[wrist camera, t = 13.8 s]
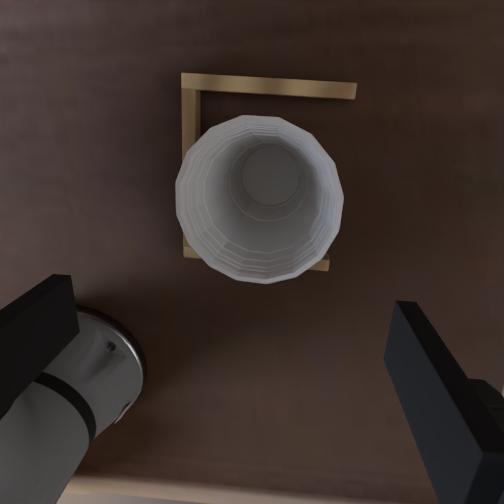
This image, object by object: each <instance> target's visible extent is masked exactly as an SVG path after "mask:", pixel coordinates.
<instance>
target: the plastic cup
mask: <svg viewBox="0 0 504 504" xmlns="http://www.w3.org/2000/svg"><path fill="white" fill-rule="evenodd" d="M175 187H176V215H177V217H178V220H179V222H180V225H181V227H182V230H183V232H184V234H185V237H186V239H187V242H188V244H189V245H190V246H191V247H192V248H193V249H194V250H195V251H196V252H197V253H198V254H199V256H200V257H201V258H202V259H203V260H204V261H205V262H206V263H207V264H208V265H209V266H210V267H212V268H214V269H216V270H218V271H220V272H222V273H223V274H225V275H227V276H229V277H231V278H233V279H235V280H239V281H247V282H254V283H262V284H269V283H273V282H277V281H282V280H286V279H290V278H294V277H297V276H298V275H300V274H301V273H303V272H304V271H305V270H307V269H308V268H310V267H311V266H312V265H314V264H315V263H317V262H318V261H319V260H321V259H322V258H323V256H324V255H325V253H326V251H327V250H328V248H329V246H330V245H331V243H332V242H333V240H334V238H335V237H336V235H337V234H338V232H339V228H340V221H341V214H342V207H343V201H344V196H343V192H342V188H341V184H340V181H339V177H338V173H337V170H336V166H335V163H334V161H333V160H332V159H331V158H330V156H329V155H328V154H327V153H326V151H325V150H324V149H323V148H322V146H321V145H320V144H319V143H318V141H317V140H316V139H315V138H314V137H313V135H312V134H310V133H308V132H307V131H305V130H303V129H301V128H299V127H297V126H295V125H293V124H291V123H289V122H287V121H285V120H283V119H281V118H280V117H267V116H250V115H242V116H239V117H237V118H234V119H232V120H229V121H226V122H224V123H221V124H219V125H216V126H214V127H211V128H210V129H209V130H208V131H207V132H206V133H205V134H204V135H203V136H202V137H201V138H200V139H199V140H198V141H197V142H196V143H195V144H194V145H193V146H192V147H191V148H190V149H189V150H188V151H187V153H186V156H185V158H184V161H183V163H182V166H181V169H180V171H179V174H178V177H177V179H176V182H175Z"/></svg>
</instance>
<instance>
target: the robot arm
mask: <svg viewBox="0 0 504 504" xmlns="http://www.w3.org/2000/svg"><path fill="white" fill-rule="evenodd" d="M384 361H385V364H386V366H387V369H388V372H389V374H390V377H391V379H392V382H393V385H394V387H395V390H396V392H397V395H398V397H399V400H400V403H401V405H402V408H403V410H404V413H405V416H406V418H407V421H408V423H409V426H410V428H411V431H412V434H413V436H414V439H415V441H416V444H417V447H418V449H419V452H420V454H421V457H422V459H423V462H424V465H425V467H426V470H427V472H428V475H429V478H430V480H431V483H432V485H433V488H434V491H435V493H436V496H437V498H438V501H439V503H440V504H504V397H503V396H502V395H501V393H500V392H498V391H497V390H496V389H495V388H493V387H492V386H491V385H490V384H488V383H487V382H486V381H484V380H479V379H468V378H467V376H466V375H465V373H464V372H463V370H462V369H461V367H460V366H459V364H458V363H457V361H456V360H455V358H454V357H453V356H452V354H451V353H450V351H449V350H448V348H447V347H446V345H445V344H444V342H443V341H442V339H441V338H440V336H439V335H438V333H437V332H436V330H435V329H434V327H433V326H432V324H431V323H430V322H429V320H428V319H427V317H426V316H425V314H424V313H423V311H422V310H421V308H420V307H419V305H418V304H417V302H410V301H397V300H396V302H395V307H394V312H393V316H392V321H391V326H390V331H389V336H388V340H387V345H386V350H385V355H384ZM146 374H147V368H146V362H145V358H144V355H143V352H142V350H141V348H140V346H139V345H138V343H137V342H136V340H135V339H134V337H133V336H132V335H131V334H130V333H129V332H128V331H127V330H126V329H125V328H124V327H123V326H122V325H121V324H119V323H118V322H116V321H115V320H113V319H112V318H110V317H108V316H106V315H104V314H102V313H100V312H98V311H95V310H91V309H88V308H83V307H76V304H75V298H74V292H73V286H72V280H71V275H58V274H53V275H51V276H50V277H48V278H47V279H45V280H44V281H42V282H41V283H39V284H38V285H36V286H35V287H33V288H32V289H31V290H29V291H28V292H26V293H25V294H23V295H22V296H20V297H19V298H17V299H16V300H14V301H13V302H12V303H10V304H9V305H7V306H6V307H4V308H3V309H1V310H0V504H56V503H57V501H58V499H59V498H60V496H61V494H62V493H63V491H64V489H65V487H66V486H67V484H68V482H69V481H70V479H71V477H72V476H73V474H74V472H75V470H76V469H77V467H78V465H79V464H80V462H81V460H82V459H83V457H84V455H85V453H86V452H87V450H88V448H89V447H90V445H91V444H92V442H93V440H94V439H95V437H97V436H98V435H99V434H100V433H101V432H102V431H103V430H105V429H106V428H107V427H108V426H109V425H110V424H111V423H112V422H114V421H115V420H116V419H117V418H118V417H119V416H120V417H119V418H118V419H117V421H118V420H120V419H121V417H122V416H123V415H124V413H125V412H126V411H127V410H128V409H129V408H130V407H131V405H132V404H133V403H134V402H135V401H136V399H137V397H138V396H139V394H140V392H141V390H142V388H143V386H144V384H145V380H146ZM117 421H116V422H117ZM116 422H115V423H116ZM115 423H114V424H115Z"/></svg>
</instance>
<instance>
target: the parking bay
mask: <svg viewBox="0 0 504 504" xmlns="http://www.w3.org/2000/svg"><path fill="white" fill-rule="evenodd" d="M356 87H357V83H350V82H332V81H315V80H298V79H281V78H264V77H246V76H229V75H212V74H195V73H181V90H182V163H183V161H184V158H185V156H186V153H187V151H188V150H189V149H190V148H191V147H192V146H193V145H194V144H195V143H196V142H197V141H198V140H199V139H200V93H201V91H213V92H229V93H245V94H261V95H278V96H294V97H310V98H326V99H342V100H353V99H355V94H356ZM183 256H184V257H189V258H200V259H202V258H201V257H200V256H199V254H198V253H197V252H196V251H195V250H194V249H193V248H192V247H191V246H190V245H189V244H188V242H187V239H186V237H185V234H184V232H183ZM329 262H330V260H329V256H328V254H327V253H325V255H324V256H323V258H322V259H321V260H319V261H318V262H317V263H315V264H314V265H312V266H311V267H310V268H308V269H310V270H320V271H328V268H329Z"/></svg>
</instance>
